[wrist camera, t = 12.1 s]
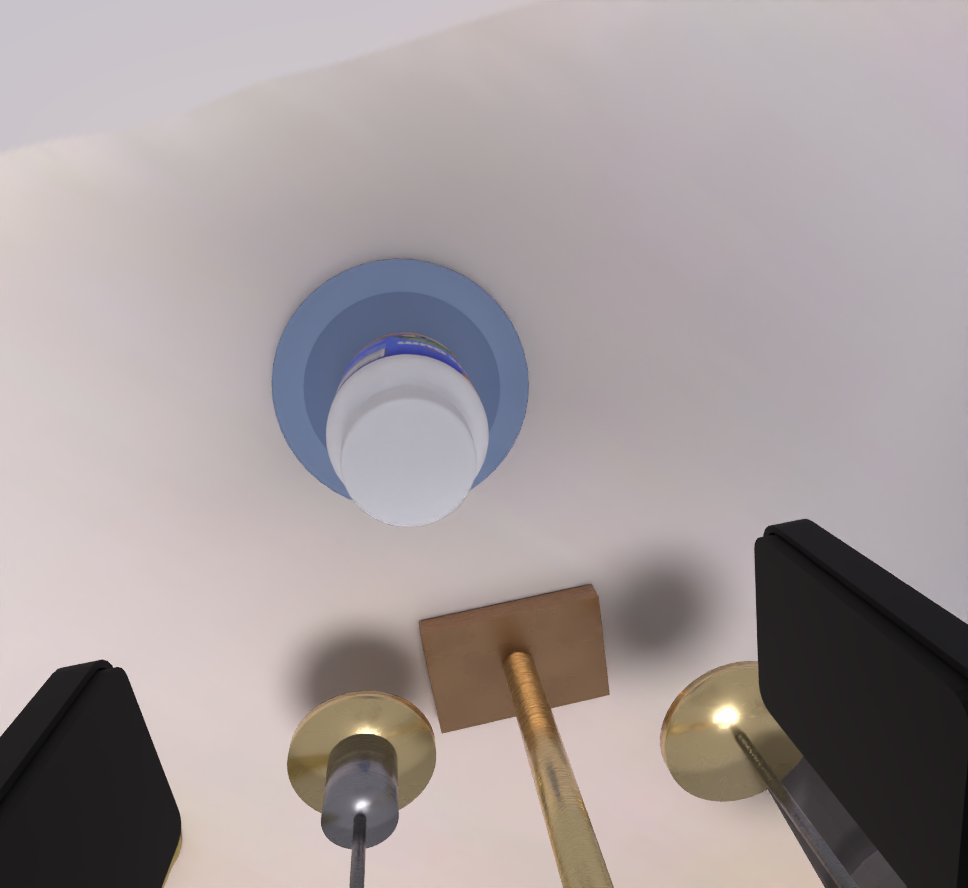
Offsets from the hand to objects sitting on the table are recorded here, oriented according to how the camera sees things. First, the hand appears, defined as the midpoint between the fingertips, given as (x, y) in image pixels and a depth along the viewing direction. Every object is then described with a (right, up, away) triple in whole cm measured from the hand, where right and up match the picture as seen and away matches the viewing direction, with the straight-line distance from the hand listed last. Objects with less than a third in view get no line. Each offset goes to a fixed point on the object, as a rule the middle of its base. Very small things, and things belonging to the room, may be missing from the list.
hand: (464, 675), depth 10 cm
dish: (-3, +6, +20) cm, 21 cm away
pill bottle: (-3, +6, +19) cm, 20 cm away
